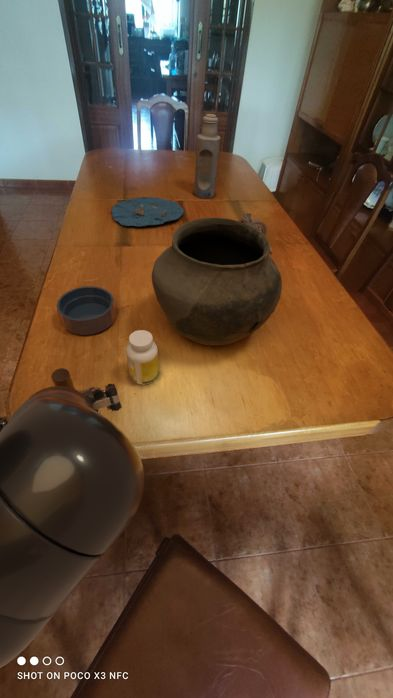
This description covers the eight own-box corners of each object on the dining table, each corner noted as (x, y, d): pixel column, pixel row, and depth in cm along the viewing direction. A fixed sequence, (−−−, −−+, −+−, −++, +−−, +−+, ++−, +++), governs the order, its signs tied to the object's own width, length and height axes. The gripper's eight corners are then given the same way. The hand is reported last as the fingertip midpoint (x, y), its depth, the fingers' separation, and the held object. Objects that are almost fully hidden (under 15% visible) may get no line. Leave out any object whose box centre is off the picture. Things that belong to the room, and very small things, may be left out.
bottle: (191, 196, 143) (196, 115, 121) (196, 189, 150) (201, 111, 128) (212, 200, 142) (220, 118, 120) (216, 192, 149) (224, 113, 127)
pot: (250, 390, 70) (279, 301, 52) (132, 339, 79) (121, 247, 61) (286, 316, 89) (316, 232, 71) (187, 282, 97) (191, 198, 79)
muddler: (63, 422, 62) (47, 389, 54) (59, 403, 65) (44, 368, 57) (88, 414, 64) (76, 380, 56) (83, 395, 66) (71, 361, 58)
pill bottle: (164, 371, 72) (164, 335, 64) (146, 390, 68) (143, 354, 60) (141, 359, 74) (138, 322, 66) (123, 377, 70) (117, 340, 62)
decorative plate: (93, 220, 124) (90, 206, 120) (139, 195, 142) (138, 183, 138) (156, 239, 114) (155, 225, 110) (197, 210, 132) (197, 197, 129)
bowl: (67, 343, 76) (61, 326, 72) (58, 309, 85) (52, 292, 81) (122, 329, 81) (120, 312, 77) (108, 298, 89) (105, 281, 85)
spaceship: (257, 246, 99) (282, 236, 98) (232, 210, 125) (251, 202, 124) (262, 267, 104) (285, 258, 104) (237, 228, 131) (255, 221, 130)
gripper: (118, 369, 31) (105, 363, 47) (-48, 419, 27) (-3, 395, 42) (139, 440, 32) (119, 412, 47) (-20, 502, 27) (15, 448, 42)
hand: (62, 404), depth 44 cm, fingers open, 8 cm apart
